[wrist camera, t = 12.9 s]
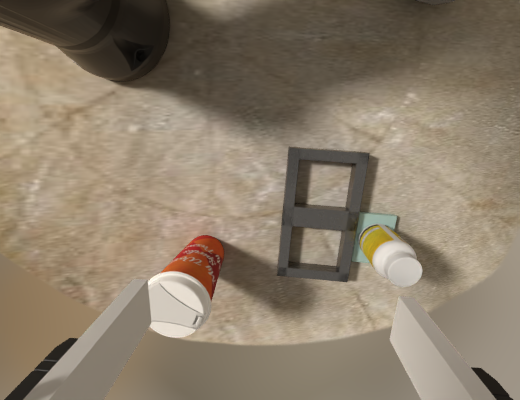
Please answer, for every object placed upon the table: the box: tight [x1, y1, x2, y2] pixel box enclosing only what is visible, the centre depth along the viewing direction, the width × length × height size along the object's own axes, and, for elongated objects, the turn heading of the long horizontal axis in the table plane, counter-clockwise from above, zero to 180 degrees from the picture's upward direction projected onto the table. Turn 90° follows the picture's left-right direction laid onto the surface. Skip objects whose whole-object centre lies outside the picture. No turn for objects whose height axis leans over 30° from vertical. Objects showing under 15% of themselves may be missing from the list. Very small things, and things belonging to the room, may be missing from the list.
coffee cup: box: [148, 235, 224, 338], centre depth 37 cm, size 8×8×15 cm
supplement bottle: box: [359, 223, 422, 287], centre depth 36 cm, size 5×5×10 cm
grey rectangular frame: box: [277, 147, 369, 282], centre depth 40 cm, size 20×11×2 cm, turn 176°
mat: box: [351, 212, 397, 263], centre depth 41 cm, size 8×6×1 cm
